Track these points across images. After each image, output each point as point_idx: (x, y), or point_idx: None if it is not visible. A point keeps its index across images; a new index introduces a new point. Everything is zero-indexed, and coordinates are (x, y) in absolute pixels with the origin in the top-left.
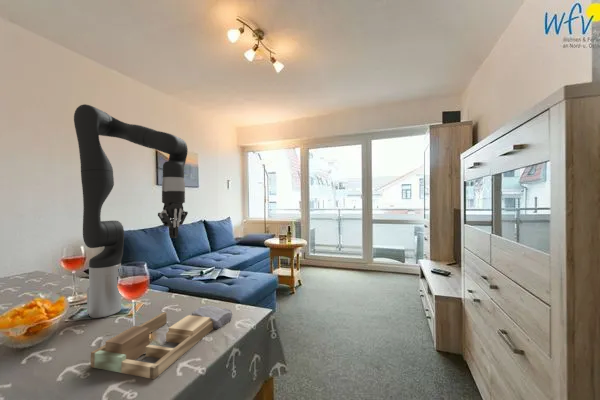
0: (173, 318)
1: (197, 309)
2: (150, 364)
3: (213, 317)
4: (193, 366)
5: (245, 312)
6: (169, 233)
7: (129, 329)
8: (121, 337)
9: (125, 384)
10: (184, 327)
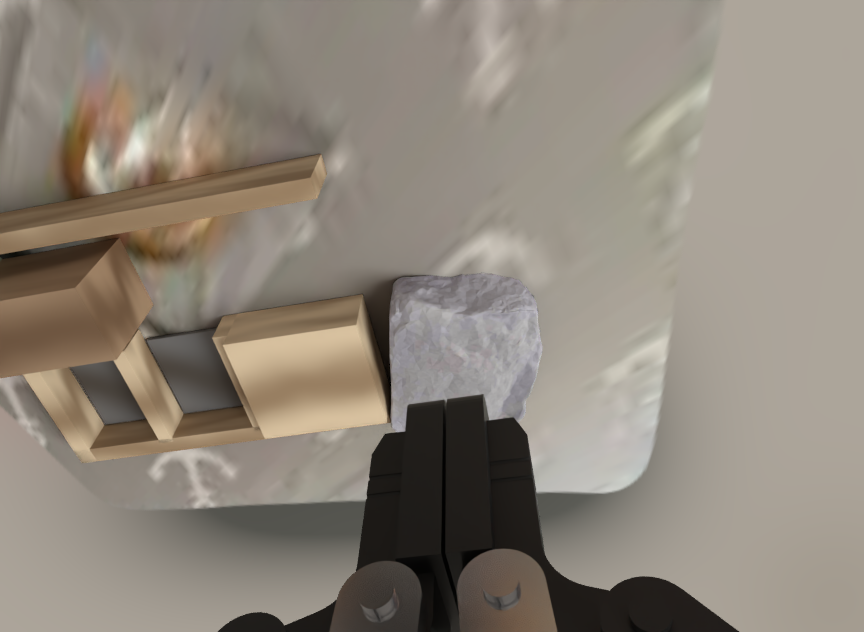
0: (385, 157)
1: (418, 328)
2: (80, 443)
3: (404, 421)
4: (198, 481)
5: (586, 421)
6: (368, 484)
7: (48, 300)
8: (3, 334)
9: (30, 394)
10: (263, 396)
